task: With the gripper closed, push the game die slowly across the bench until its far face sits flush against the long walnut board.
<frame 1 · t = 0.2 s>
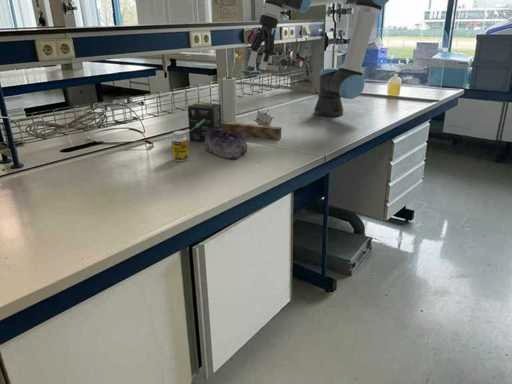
hand: (256, 68, 180), 27 cm above the lab bench, fingers open, 13 cm apart
paper towel roll: (229, 123, 201), on the lab bench
board: (251, 136, 180), on the lab bench
geode: (223, 153, 160), on the lab bench
tampon box: (206, 140, 176), on the lab bench
supplement bottle: (180, 160, 153), on the lab bench
game die: (263, 128, 194), on the lab bench
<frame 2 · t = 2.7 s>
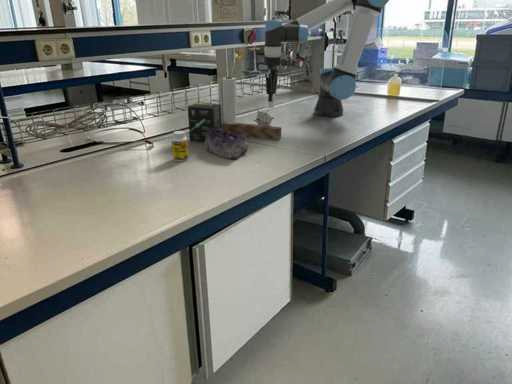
hand: (270, 107, 200), 7 cm above the lab bench, fingers closed
nothing on the lab bench moved.
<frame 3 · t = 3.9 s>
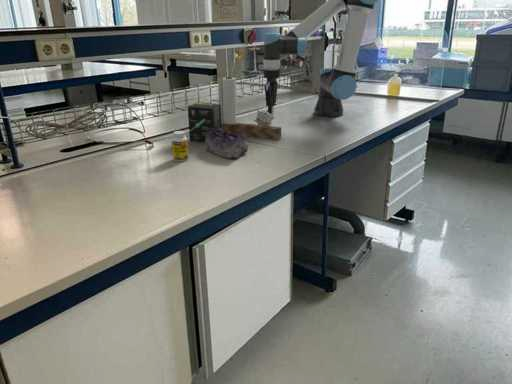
hand: (270, 119, 202), 1 cm above the lab bench, fingers closed
nothing on the lab bench moved.
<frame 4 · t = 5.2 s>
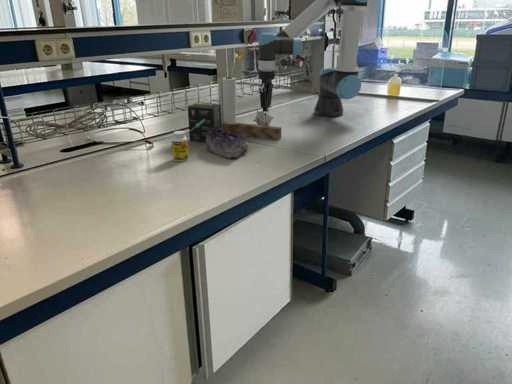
hand: (265, 121, 197), 2 cm above the lab bench, fingers closed
game die: (263, 127, 193), on the lab bench, touching gripper
everything else where it was.
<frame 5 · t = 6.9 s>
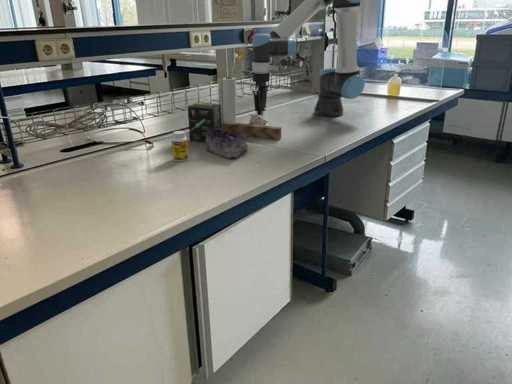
hand: (260, 125, 191), 2 cm above the lab bench, fingers closed
game die: (257, 131, 187), on the lab bench, touching gripper
everything else where it was.
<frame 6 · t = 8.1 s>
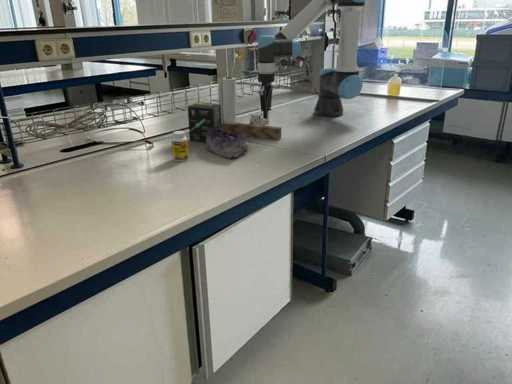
hand: (266, 124, 195), 1 cm above the lab bench, fingers closed
game die: (257, 132, 187), on the lab bench
everything else where it was.
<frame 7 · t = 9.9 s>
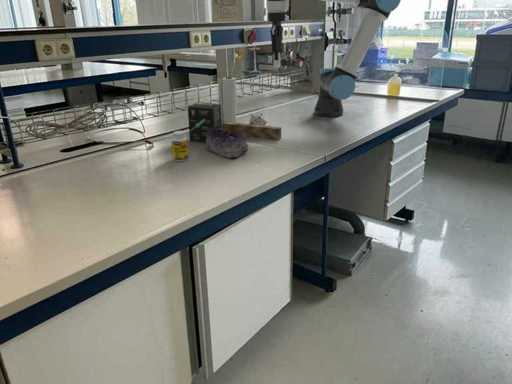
hand: (277, 67, 194), 26 cm above the lab bench, fingers closed
nothing on the lab bench moved.
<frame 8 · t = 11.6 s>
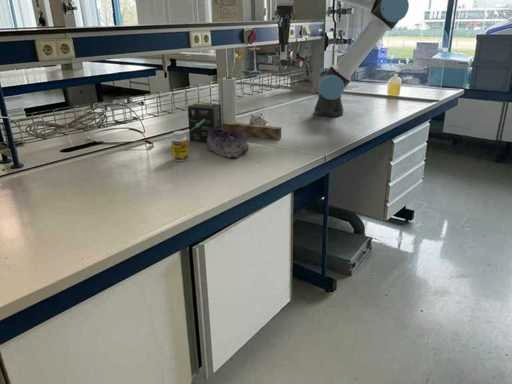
hand: (283, 59, 200), 28 cm above the lab bench, fingers closed
at the end: game die inside the target area on the lab bench beside the board (1.6 cm from its centre), on the lab bench; game die tilted 1° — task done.
